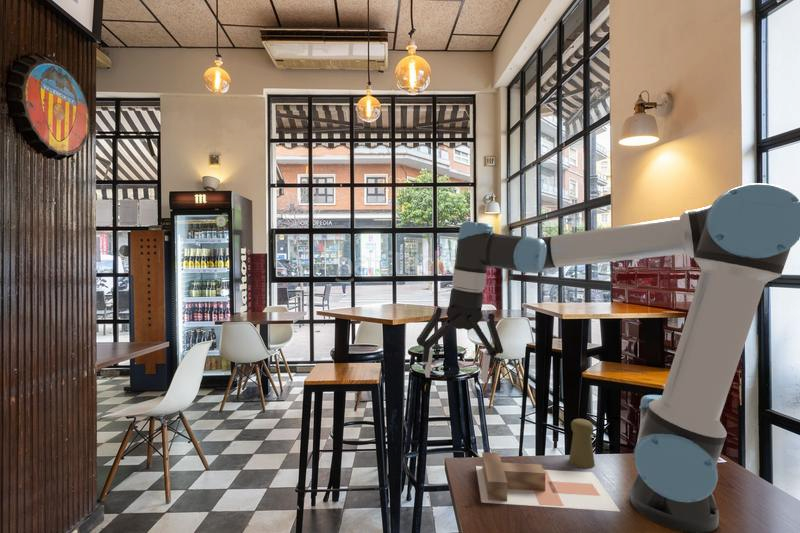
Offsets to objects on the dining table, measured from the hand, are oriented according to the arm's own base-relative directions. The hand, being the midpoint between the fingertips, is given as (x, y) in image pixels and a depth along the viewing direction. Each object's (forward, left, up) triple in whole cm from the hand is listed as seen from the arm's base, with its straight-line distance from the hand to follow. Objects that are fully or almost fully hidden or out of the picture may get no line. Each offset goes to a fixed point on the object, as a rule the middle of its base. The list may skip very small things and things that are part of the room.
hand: (455, 378), depth 98 cm
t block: (-13, +1, -24) cm, 27 cm away
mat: (-19, +1, -24) cm, 31 cm away
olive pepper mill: (-32, -12, -24) cm, 42 cm away
